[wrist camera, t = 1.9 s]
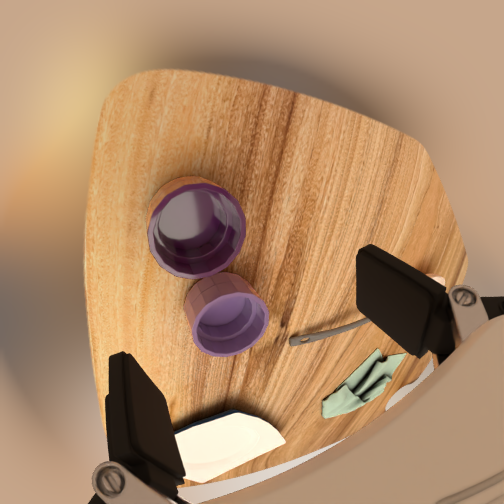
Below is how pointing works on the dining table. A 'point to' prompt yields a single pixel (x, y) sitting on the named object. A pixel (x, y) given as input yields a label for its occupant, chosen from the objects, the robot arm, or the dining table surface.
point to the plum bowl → (194, 227)
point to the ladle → (324, 334)
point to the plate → (224, 443)
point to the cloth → (362, 384)
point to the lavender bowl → (225, 314)
